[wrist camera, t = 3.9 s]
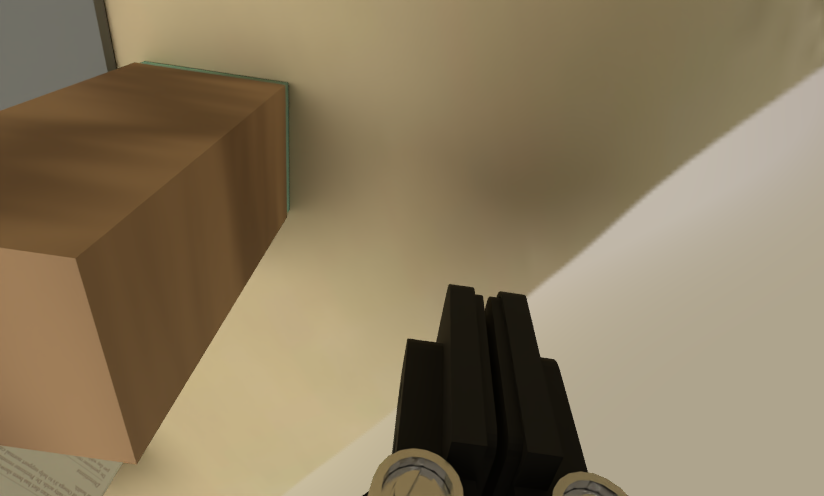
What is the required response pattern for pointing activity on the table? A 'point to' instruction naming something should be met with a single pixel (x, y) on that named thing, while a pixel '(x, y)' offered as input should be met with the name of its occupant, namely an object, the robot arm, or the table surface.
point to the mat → (51, 46)
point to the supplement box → (53, 473)
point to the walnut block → (128, 245)
